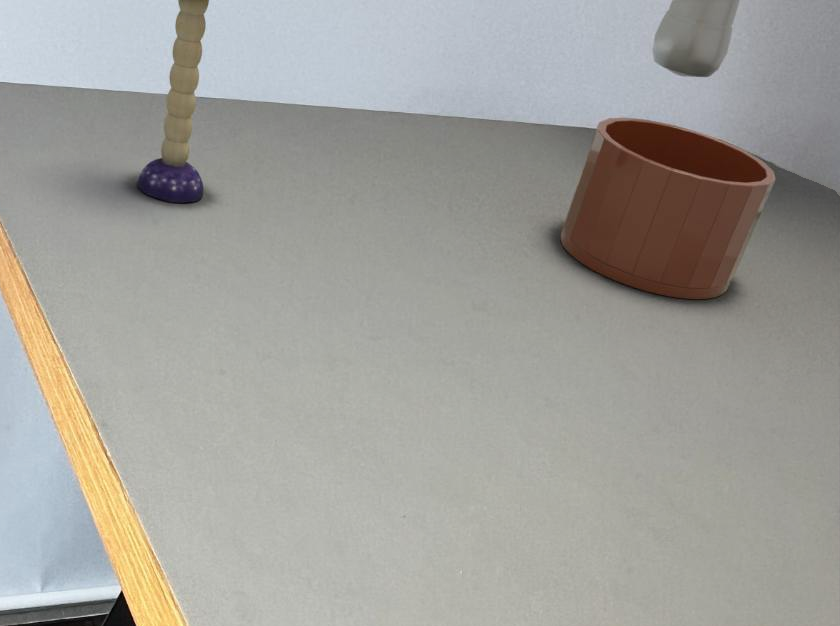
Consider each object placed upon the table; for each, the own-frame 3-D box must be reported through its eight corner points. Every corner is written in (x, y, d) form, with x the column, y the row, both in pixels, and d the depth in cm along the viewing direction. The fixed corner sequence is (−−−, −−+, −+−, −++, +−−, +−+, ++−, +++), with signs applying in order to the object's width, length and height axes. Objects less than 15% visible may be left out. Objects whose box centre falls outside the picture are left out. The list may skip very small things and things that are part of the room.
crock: (696, 241, 94) (738, 137, 89) (752, 311, 84) (803, 198, 80) (543, 213, 92) (579, 105, 88) (583, 281, 82) (625, 164, 78)
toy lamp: (177, 210, 78) (221, -78, 68) (114, 186, 79) (149, -101, 69) (214, 193, 81) (260, -83, 72) (153, 170, 83) (191, -104, 73)
